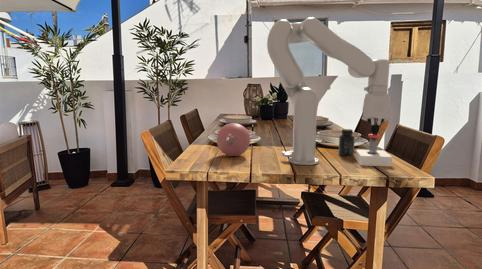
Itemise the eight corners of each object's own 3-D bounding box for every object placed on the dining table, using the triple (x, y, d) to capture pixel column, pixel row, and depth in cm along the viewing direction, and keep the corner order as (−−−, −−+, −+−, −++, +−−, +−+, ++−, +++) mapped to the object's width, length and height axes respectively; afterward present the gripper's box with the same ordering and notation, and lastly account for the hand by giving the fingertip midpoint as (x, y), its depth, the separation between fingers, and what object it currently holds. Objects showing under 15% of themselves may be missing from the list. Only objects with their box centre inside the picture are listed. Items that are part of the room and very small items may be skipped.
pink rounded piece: (208, 161, 137) (207, 126, 134) (223, 151, 156) (222, 120, 153) (242, 163, 132) (242, 127, 130) (253, 153, 151) (253, 121, 149)
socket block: (360, 165, 130) (360, 155, 129) (355, 158, 142) (355, 149, 141) (391, 166, 128) (392, 157, 127) (383, 159, 140) (384, 150, 139)
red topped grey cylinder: (367, 163, 133) (369, 135, 131) (365, 160, 137) (367, 133, 135) (379, 163, 132) (381, 135, 130) (376, 161, 137) (378, 133, 135)
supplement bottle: (356, 154, 148) (357, 129, 146) (349, 157, 143) (351, 131, 141) (342, 152, 153) (343, 128, 151) (335, 155, 148) (337, 129, 146)
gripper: (360, 90, 127) (357, 135, 130) (399, 90, 125) (395, 136, 128) (356, 89, 134) (354, 132, 138) (394, 90, 132) (390, 133, 135)
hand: (374, 134), depth 133 cm, fingers closed
